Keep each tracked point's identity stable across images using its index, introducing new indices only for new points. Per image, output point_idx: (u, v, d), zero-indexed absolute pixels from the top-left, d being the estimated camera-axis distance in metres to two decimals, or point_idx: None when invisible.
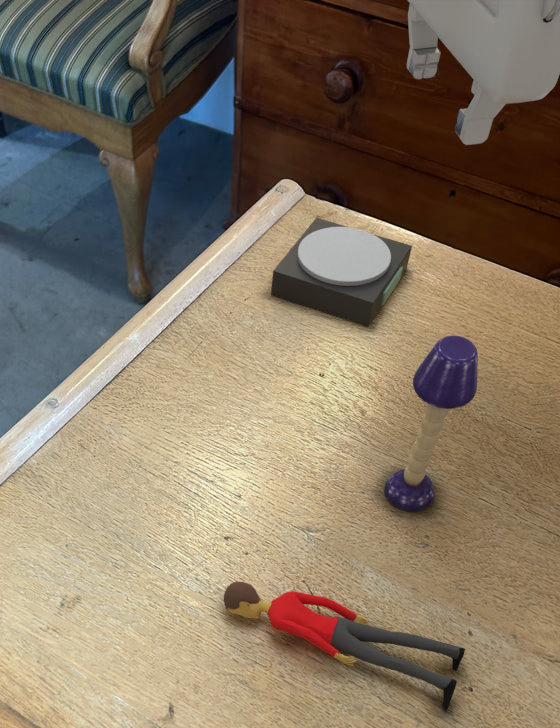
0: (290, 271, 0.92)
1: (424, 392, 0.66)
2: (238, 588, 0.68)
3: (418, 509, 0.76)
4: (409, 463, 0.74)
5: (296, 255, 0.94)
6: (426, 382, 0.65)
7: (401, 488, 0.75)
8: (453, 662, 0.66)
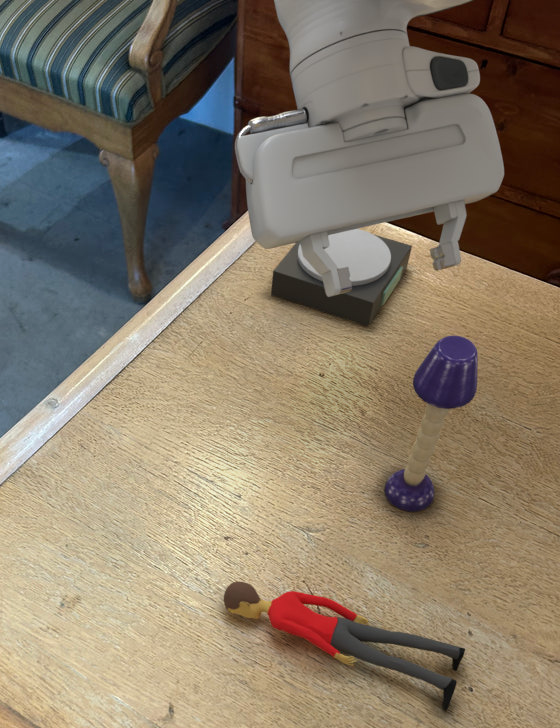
0: (290, 271, 0.92)
1: (424, 392, 0.66)
2: (238, 588, 0.68)
3: (418, 509, 0.76)
4: (409, 463, 0.74)
5: (296, 255, 0.94)
6: (426, 382, 0.65)
7: (401, 488, 0.75)
8: (453, 662, 0.66)
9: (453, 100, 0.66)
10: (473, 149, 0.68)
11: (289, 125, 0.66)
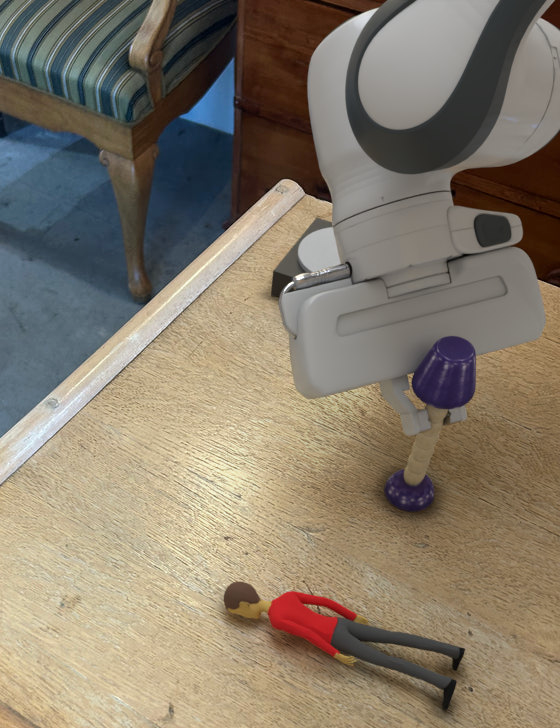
0: (290, 271, 0.92)
1: (422, 393, 0.66)
2: (238, 588, 0.68)
3: (418, 509, 0.76)
4: (409, 463, 0.74)
5: (296, 255, 0.94)
6: (425, 382, 0.65)
7: (401, 488, 0.75)
8: (453, 662, 0.66)
9: (496, 255, 0.66)
10: (515, 300, 0.68)
11: (333, 280, 0.66)
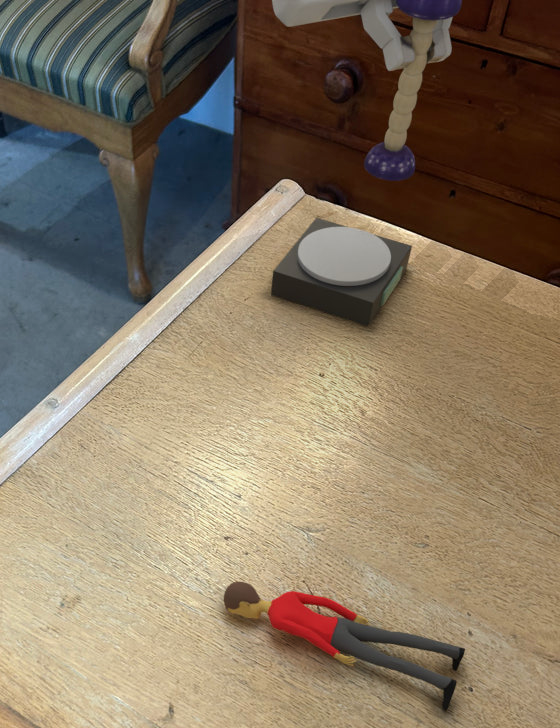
0: (290, 271, 0.92)
1: (407, 1, 0.63)
2: (238, 588, 0.68)
3: (398, 178, 0.73)
4: (390, 120, 0.71)
5: (296, 255, 0.94)
6: None
7: (381, 154, 0.73)
8: (453, 662, 0.66)
9: None
10: None
11: None
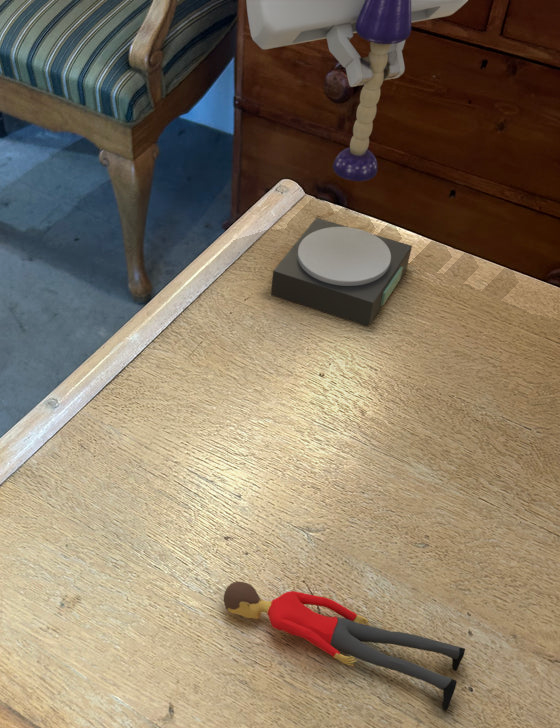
0: (290, 271, 0.92)
1: (364, 28, 0.74)
2: (238, 588, 0.68)
3: (362, 178, 0.84)
4: (354, 129, 0.82)
5: (296, 255, 0.94)
6: (366, 17, 0.74)
7: (347, 158, 0.84)
8: (453, 662, 0.66)
9: None
10: None
11: None
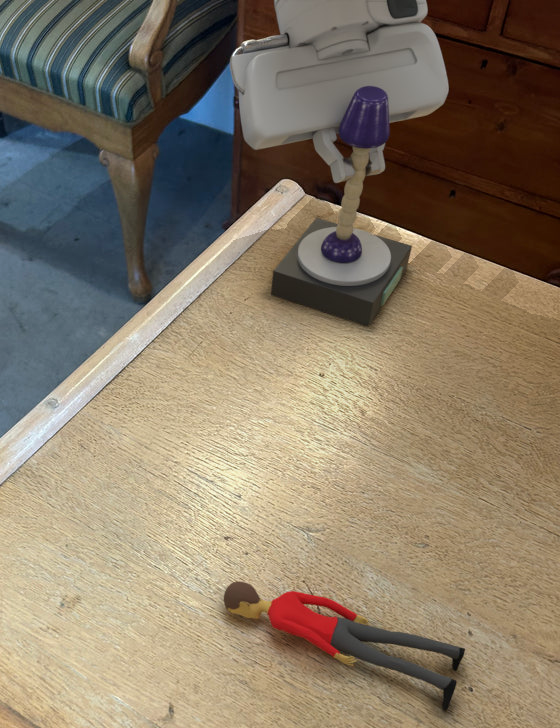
0: (290, 271, 0.92)
1: (346, 134, 0.81)
2: (238, 588, 0.68)
3: (348, 260, 0.91)
4: (339, 217, 0.89)
5: (296, 255, 0.94)
6: (348, 125, 0.81)
7: (334, 242, 0.91)
8: (453, 662, 0.66)
9: (405, 27, 0.82)
10: (423, 69, 0.84)
11: (273, 47, 0.82)
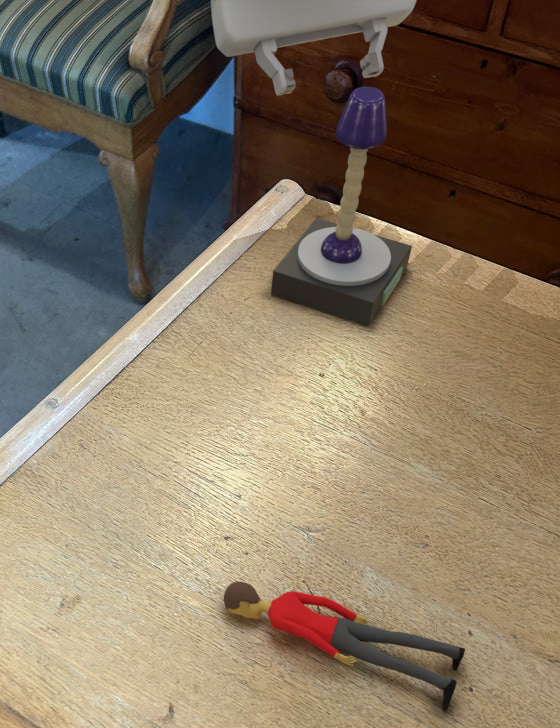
0: (290, 271, 0.92)
1: (343, 135, 0.81)
2: (238, 588, 0.68)
3: (347, 261, 0.91)
4: (338, 217, 0.89)
5: (296, 255, 0.94)
6: (345, 126, 0.81)
7: (333, 243, 0.91)
8: (453, 662, 0.66)
9: None
10: None
11: None
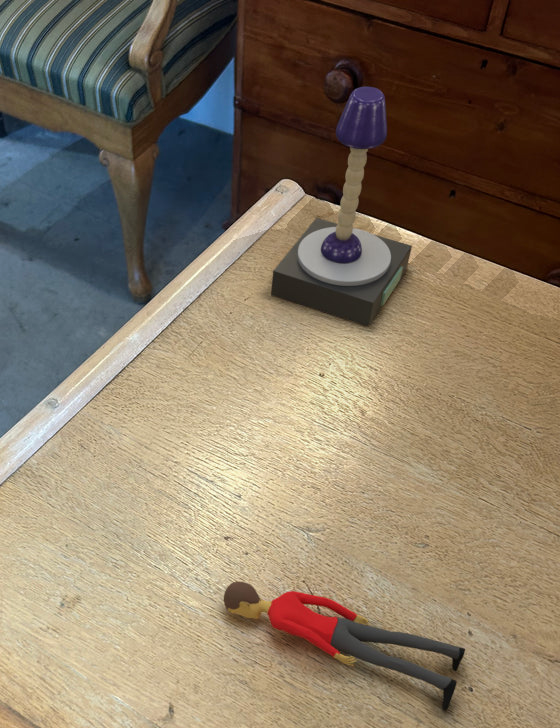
0: (290, 271, 0.92)
1: (343, 135, 0.81)
2: (238, 588, 0.68)
3: (347, 261, 0.91)
4: (338, 217, 0.89)
5: (296, 255, 0.94)
6: (345, 126, 0.81)
7: (333, 243, 0.91)
8: (453, 662, 0.66)
9: None
10: None
11: None
